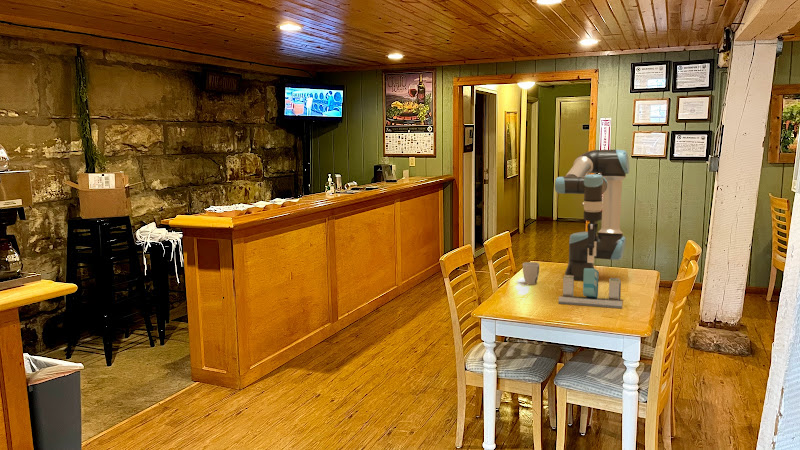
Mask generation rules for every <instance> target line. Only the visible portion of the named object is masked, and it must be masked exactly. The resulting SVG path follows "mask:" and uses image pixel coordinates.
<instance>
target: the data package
mask: <svg viewBox="0 0 800 450" xmlns="http://www.w3.org/2000/svg"><path fill="white" fill-rule="evenodd" d="M599 279H600V277H599V271H598V270H597V269H596V268H595V267H594V268H584V277H583V281H582V296H583V297H589V298H599V297H598V296H599Z"/></svg>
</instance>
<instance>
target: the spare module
mask: <svg viewBox="0 0 800 450" xmlns="http://www.w3.org/2000/svg"><path fill="white" fill-rule="evenodd" d="M621 288H622V281H621V280H619V300H621V293H622V292H621V290H622V289H621Z"/></svg>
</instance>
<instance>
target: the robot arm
mask: <svg viewBox="0 0 800 450" xmlns="http://www.w3.org/2000/svg"><path fill="white" fill-rule="evenodd" d="M572 165H573V166H572V167H571V168H570V169H569V171H568V172H567V173H566V175H564V176H557V177H556V178H555V181H554V191H555V192H556V193H557V194H564V195H566V194H568V195H569V194H570V195H572V194H573V195H575V194H576V195H583V202H582V205H583V210H584V211H583V220H584V221H588V222H589V223H587V225H586V226H587V231H579V232H574V233H572V234H570V235H569V242H568V245H569V246H568V264H567V267H566V270H565V273H564V275H571V276H574V281H577V282H578V281H579V282H580V281H581V282H583V277H584V268H594V269H595V266H594V263H595V259H598V260H610V261H612V260H613V261H616V260H617V261H619V260H621V259H622V258H623V256H624V253H625V249H626V243H627V238H626V237H625V236H624V234H623V233H624V232H623V231H621V228H620V227H621V210H622V209H621V207H622V188H623V181H624V180H625V179H626V177H627V175H628V174H629V173H630V161H629V155H628V152H627V151H626V150H624V149H593V150H588V151H586V152H584V153H582V154H580V155H579V156H577V157H576V158H575V160H574V161H573V164H572ZM598 221H601V228H600V229H599V230H598V224H599V223H598Z"/></svg>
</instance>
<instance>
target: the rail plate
mask: <svg viewBox="0 0 800 450" xmlns="http://www.w3.org/2000/svg"><path fill="white" fill-rule="evenodd" d="M562 280H563V281H562V295H560V296H558V304H559V305H568V306H569V305H570V306H583V307H584V306H586V307H595V308H596V307H598V308H614V309H623V299H620V300H619V281H620V278H618V277H609V280H608V298H601V297H597V298H589V297H585V296H574V292H575V291H574V290H575V287H574V283H575V280H574V276H571V275H565V274H564V276H562Z"/></svg>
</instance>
